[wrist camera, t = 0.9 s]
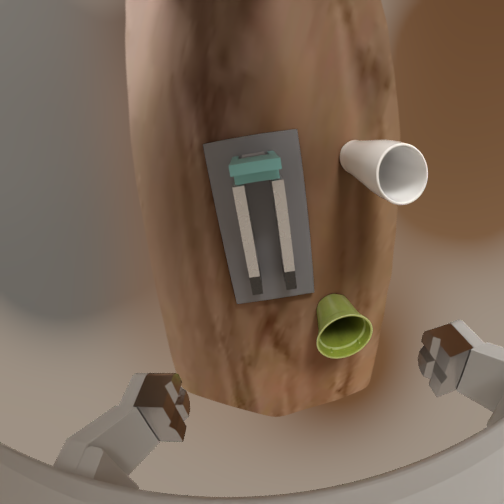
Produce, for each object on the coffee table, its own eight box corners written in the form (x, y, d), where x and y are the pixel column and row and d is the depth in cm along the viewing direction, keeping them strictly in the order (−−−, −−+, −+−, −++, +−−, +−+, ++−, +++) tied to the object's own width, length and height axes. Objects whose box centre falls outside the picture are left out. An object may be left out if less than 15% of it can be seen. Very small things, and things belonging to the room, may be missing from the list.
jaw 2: (269, 175, 39) (271, 181, 35) (280, 174, 39) (283, 179, 35) (283, 276, 46) (286, 290, 42) (293, 275, 45) (296, 288, 42)
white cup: (355, 188, 41) (401, 218, 28) (324, 157, 39) (362, 174, 26) (383, 157, 39) (438, 175, 26) (353, 125, 37) (404, 128, 24)
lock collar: (232, 156, 37) (227, 165, 29) (273, 150, 37) (280, 157, 29) (236, 178, 39) (233, 193, 30) (276, 171, 38) (284, 185, 30)
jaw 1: (233, 181, 39) (232, 187, 36) (244, 179, 39) (244, 185, 35) (252, 281, 46) (252, 295, 42) (261, 280, 46) (263, 293, 42)
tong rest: (204, 143, 38) (199, 145, 34) (295, 129, 38) (301, 129, 34) (237, 299, 49) (236, 314, 45) (312, 287, 48) (318, 302, 44)
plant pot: (364, 309, 51) (380, 338, 43) (322, 334, 53) (332, 366, 45) (342, 275, 48) (359, 304, 40) (297, 304, 50) (305, 336, 42)
